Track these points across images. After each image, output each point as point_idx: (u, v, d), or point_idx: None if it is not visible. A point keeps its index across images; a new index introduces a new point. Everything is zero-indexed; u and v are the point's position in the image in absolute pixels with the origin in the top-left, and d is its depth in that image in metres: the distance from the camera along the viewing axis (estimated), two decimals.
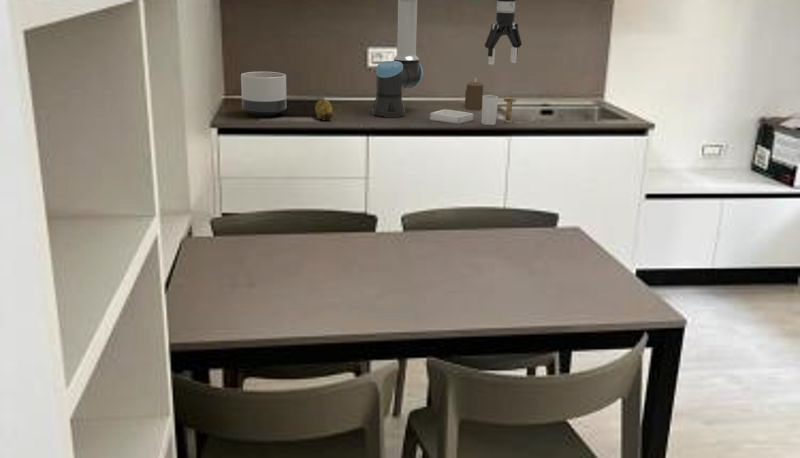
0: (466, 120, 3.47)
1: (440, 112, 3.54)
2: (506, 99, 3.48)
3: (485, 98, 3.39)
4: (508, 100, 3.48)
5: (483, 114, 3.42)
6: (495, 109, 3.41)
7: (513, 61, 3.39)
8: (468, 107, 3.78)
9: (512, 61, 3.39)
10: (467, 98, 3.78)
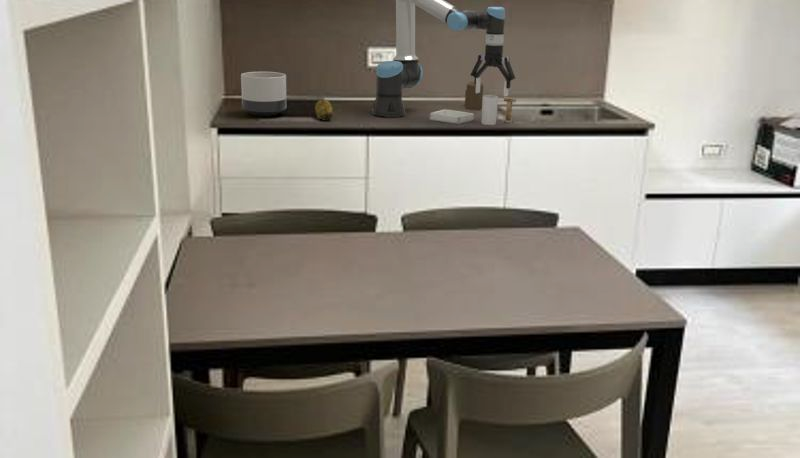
0: (466, 120, 3.47)
1: (440, 112, 3.54)
2: (506, 99, 3.48)
3: (485, 98, 3.39)
4: (508, 100, 3.48)
5: (483, 114, 3.42)
6: (495, 109, 3.41)
7: None
8: (468, 107, 3.78)
9: None
10: (467, 98, 3.78)
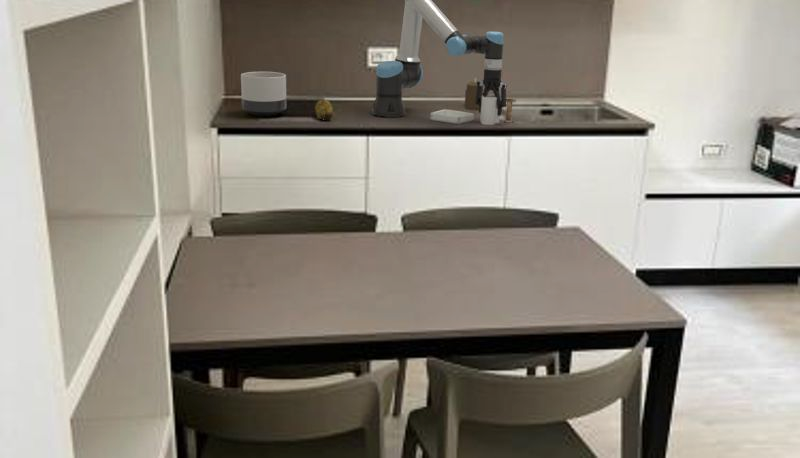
0: (466, 120, 3.47)
1: (440, 112, 3.54)
2: (506, 99, 3.48)
3: (484, 98, 3.39)
4: (508, 100, 3.48)
5: (482, 114, 3.42)
6: (495, 108, 3.41)
7: None
8: (468, 107, 3.78)
9: None
10: (467, 98, 3.78)
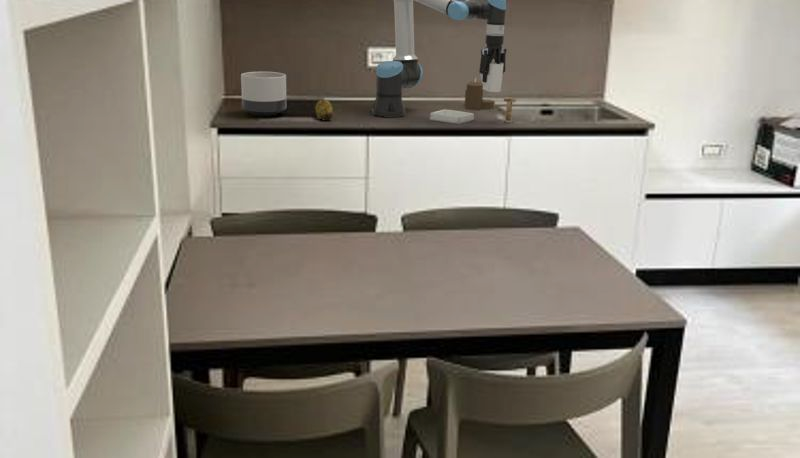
0: (466, 120, 3.47)
1: (440, 112, 3.54)
2: (506, 99, 3.48)
3: (500, 65, 3.35)
4: (508, 100, 3.48)
5: (497, 82, 3.37)
6: None
7: None
8: (468, 107, 3.78)
9: None
10: (467, 98, 3.78)
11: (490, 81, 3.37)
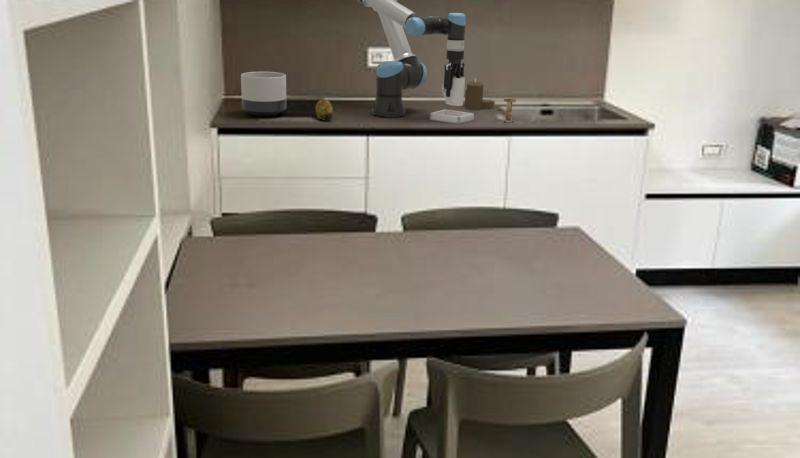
0: (466, 120, 3.47)
1: (440, 112, 3.54)
2: (506, 99, 3.48)
3: (462, 79, 3.42)
4: (508, 100, 3.48)
5: (460, 95, 3.44)
6: None
7: None
8: (468, 107, 3.78)
9: None
10: (467, 98, 3.78)
11: (454, 95, 3.44)
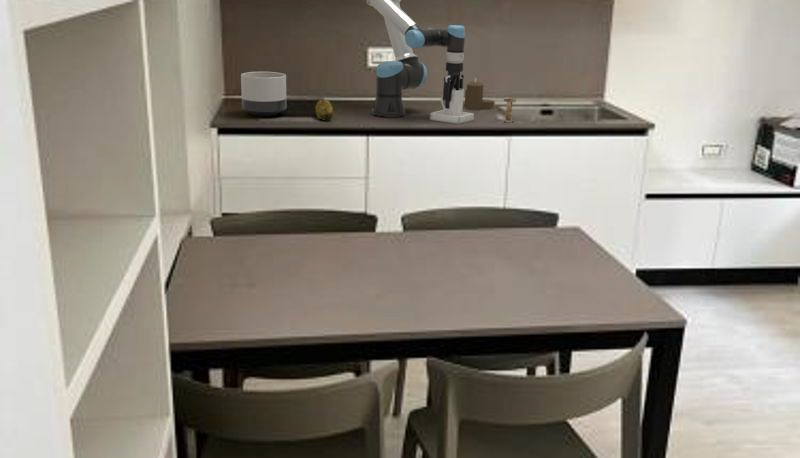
0: (466, 120, 3.47)
1: (440, 112, 3.54)
2: (506, 99, 3.48)
3: (462, 91, 3.44)
4: (508, 100, 3.48)
5: (459, 107, 3.46)
6: None
7: None
8: (468, 107, 3.78)
9: None
10: (467, 98, 3.78)
11: (453, 107, 3.45)
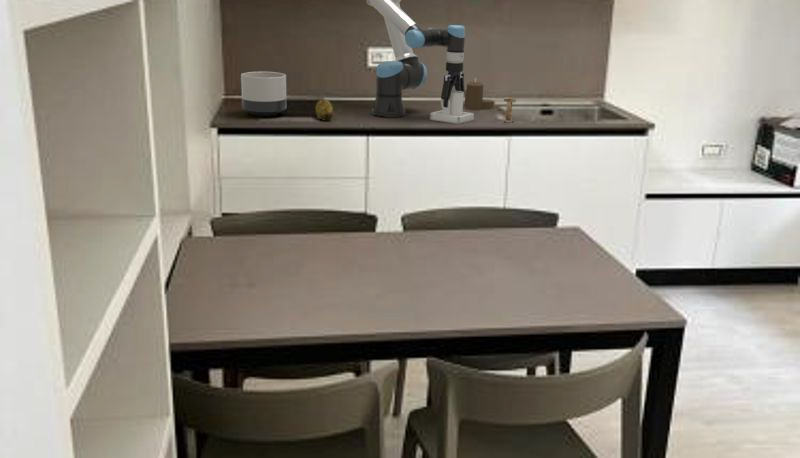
0: (466, 120, 3.47)
1: (440, 112, 3.54)
2: (506, 99, 3.48)
3: (461, 94, 3.44)
4: (508, 100, 3.48)
5: (459, 110, 3.46)
6: None
7: None
8: (468, 107, 3.78)
9: None
10: (467, 98, 3.78)
11: (453, 110, 3.46)
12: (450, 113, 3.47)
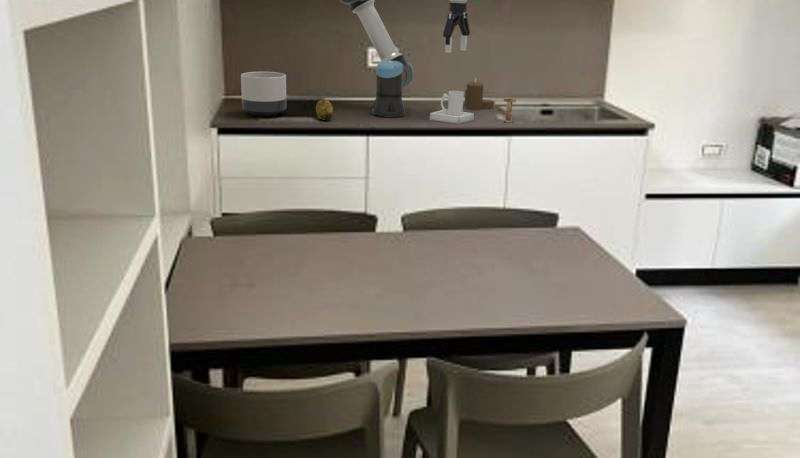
0: (466, 120, 3.47)
1: (440, 112, 3.54)
2: (506, 99, 3.48)
3: (461, 94, 3.44)
4: (508, 100, 3.48)
5: (459, 110, 3.46)
6: None
7: (463, 49, 3.58)
8: (468, 107, 3.78)
9: (462, 49, 3.59)
10: (467, 98, 3.78)
11: (453, 110, 3.46)
12: (450, 113, 3.47)
